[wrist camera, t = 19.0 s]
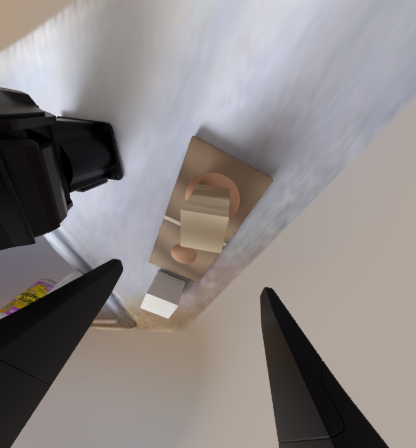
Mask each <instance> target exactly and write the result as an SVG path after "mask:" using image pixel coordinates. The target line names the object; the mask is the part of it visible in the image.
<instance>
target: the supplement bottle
mask: <svg viewBox="0 0 416 448" xmlns="http://www.w3.org/2000/svg"><path fill="white" fill-rule="evenodd" d="M56 285H57V283H56V282H54V281H51V280H48V279H41V280H39V281H37V282H36V283H35V284H33V285H32V286H31V287H30V288H28V289H27V290H25V291H24V292H23V293H22V294H20V295H19V296H18V297H16V298H15V299H14V300H12V301H11V302H10V303H8V304H7V305H6V306H5V307H3V308H2V309H1V310H0V319H1V318H3V317H5V316H7V315H9V314H11V313H13V312H15V311H17V310H19V309H21V308H23V307H25V306H26V305H28V304H30V303H32V302H34V301H36V300H38V299H39V298H41V297H43V296H45V295H46V294H47V293H48V292H49V291H50V290H51V289H52V288H54V287H55V286H56Z"/></svg>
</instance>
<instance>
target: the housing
mask: <svg viewBox="0 0 416 448" xmlns="http://www.w3.org/2000/svg"><path fill="white" fill-rule="evenodd" d="M184 285H185V281H182V280H180V279H178V278H175V277H173V276H170V275H168V274H166V273H163V272H161V271H158V273H157V275H156V276H155V278H154V280H153V282H152V284H151V286H150V288H149V290H148V292H147V293H146V296H145V298H144V301H143V303H142V305H141V308H142V309H145V310H147V311H150V312H152V313H155V314H158V315H160V316H163V317H166V318H168V319H169V317H170V316H171V315H172V313H173V312H174V311H175V309H176V308H177V307H178V305H179V301H180V298H181V295H182V292H183V288H184Z"/></svg>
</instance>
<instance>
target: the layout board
mask: <svg viewBox="0 0 416 448" xmlns="http://www.w3.org/2000/svg"><path fill="white" fill-rule="evenodd" d="M272 181H273V180H272V178H271V177H269V176H267V175H265V174H264V173H262V172H260V171H258V170H256V169H254V168H253V167H251V166H249V165H247V164H245V163H243V162H242V161H240V160H238V159H236V158H234V157H232V156H231V155H229V154H227V153H225V152H223V151H221V150H220V149H218V148H216V147H214V146H212V145H210V144H209V143H207V142H205V141H203V140H201V139H199V138H198V137H196V136H192V138H191V141H190V144H189V147H188V150H187V153H186V155H185V158H184V161H183V164H182V167H181V170H180V173H179V176H178V179H177V182H176V185H175V187H174V190H173V193H172V196H171V199H170V202H169V205H168V208H167V211H166V214H165V216H164V219H163V222H162V225H161V228H160V231H159V234H158V237H157V240H156V243H155V246H154V249H153V251H152V254H151V257H150V260H149V262H150V263H152V264H155V265H157V266H159V267H162V268H164V269H167V270H169V271H171V272H174V273H176V274H179V275H181V276H183V277H186V278H188V279H191V280H193V281H195V282H199V281H200V279H201V278H202V277H203V275H204V274H205V273H206V271H207V270H208V268H209V267H210V266H211V264H212V263H213V262H214V260H215V259H216V258H217V256H218V255H219V253H216V252H210V251H204V250H199V249H193V248H187V247H182V246H180V237H181V209H182V207H183V205H184V204H185V202H186V201H187V199H188V198H189V196H190V195H191V193H192V192H193V190H194V189H195V187H196V186H197V184H201V185H208V186H214V187H221V188H227V189H230V205H229V220H228V224H227V229H226V234H225V238H224V243H223V248H224V247H225V245H226V244H227V243H228V241H229V240H230V238H231V237H232V236H233V234H234V233H235V232H236V230H237V229H238V228H239V226H240V225H241V223H242V222H243V221H244V219H245V218H246V217H247V215H248V214H249V212H250V211H251V210H252V208H253V207H254V206H255V204H256V203H257V202H258V200H259V199H260V197H261V196H262V195H263V193H264V192H265V191H266V189H267V188H268V187H269V185H270V184H271V182H272ZM223 248H222V249H223Z"/></svg>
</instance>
